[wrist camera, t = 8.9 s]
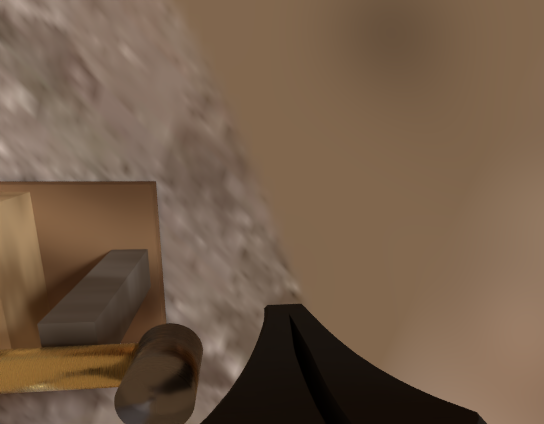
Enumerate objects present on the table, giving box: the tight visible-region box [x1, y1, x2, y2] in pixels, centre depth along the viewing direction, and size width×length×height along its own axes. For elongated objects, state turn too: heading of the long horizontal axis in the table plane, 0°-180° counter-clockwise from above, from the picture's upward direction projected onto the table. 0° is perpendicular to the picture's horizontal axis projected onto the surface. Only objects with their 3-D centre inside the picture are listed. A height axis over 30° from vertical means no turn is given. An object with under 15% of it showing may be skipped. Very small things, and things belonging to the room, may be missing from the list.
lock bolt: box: [0, 323, 203, 424], centre depth 11 cm, size 2×9×2 cm, turn 89°
